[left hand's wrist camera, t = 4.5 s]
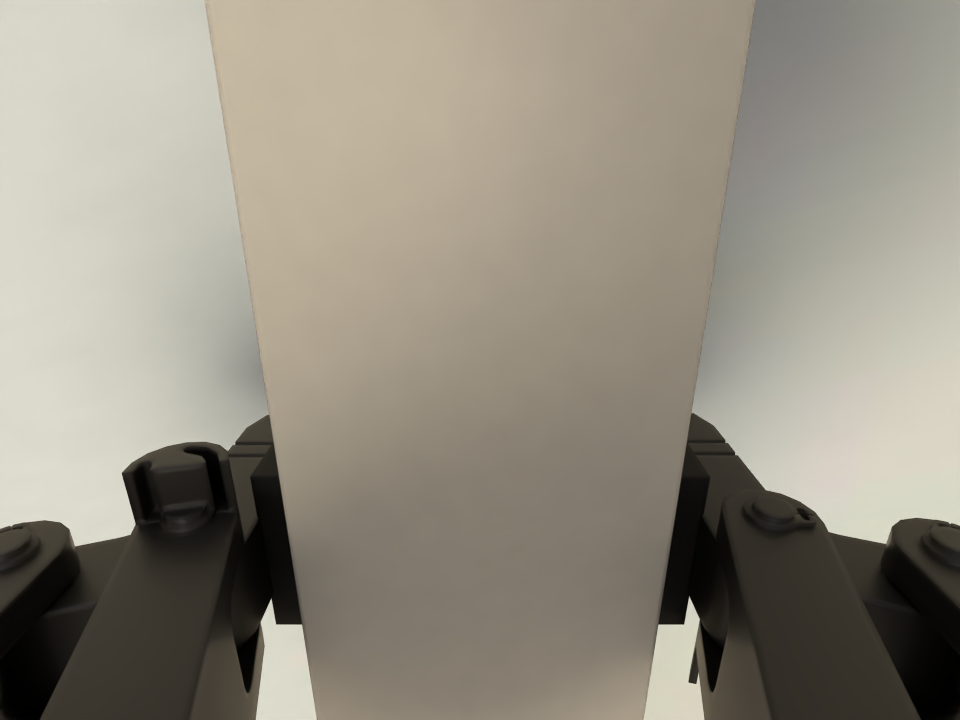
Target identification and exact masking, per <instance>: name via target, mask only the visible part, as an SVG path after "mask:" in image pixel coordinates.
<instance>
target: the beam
mask: <svg viewBox="0 0 960 720" xmlns="http://www.w3.org/2000/svg"><path fill="white" fill-rule="evenodd" d="M755 2H756V0H205V5H206V12H207V18H208V24H209V31H210V37H211V44H212V50H213V56H214V63H215V69H216V76H217V82H218V88H219V95H220V101H221V108H222V114H223V120H224V127H225V133H226V140H227V146H228V153H229V159H230V165H231V172H232V178H233V185H234V191H235V197H236V204H237V210H238V217H239V223H240V229H241V236H242V242H243V249H244V255H245V261H246V268H247V274H248V281H249V287H250V293H251V300H252V306H253V313H254V319H255V325H256V332H257V338H258V345H259V351H260V357H261V364H262V370H263V377H264V383H265V389H266V396H267V402H268V409H269V415H270V421H271V428H272V434H273V441H274V447H275V453H276V460H277V466H278V473H279V479H280V485H281V492H282V498H283V505H284V511H285V517H286V524H287V530H288V537H289V543H290V549H291V556H292V562H293V569H294V575H295V581H296V588H297V594H298V601H299V607H300V613H301V620H302V626H303V633H304V639H305V645H306V652H307V658H308V665H309V671H310V677H311V684H312V690H313V697H314V703H315V709H316V716H317V720H643V719H644V712H645V706H646V700H647V693H648V687H649V680H650V674H651V668H652V661H653V655H654V648H655V642H656V636H657V629H658V623H659V616H660V610H661V604H662V597H663V591H664V584H665V578H666V572H667V565H668V559H669V552H670V546H671V540H672V533H673V527H674V520H675V514H676V508H677V501H678V495H679V488H680V482H681V476H682V469H683V463H684V456H685V450H686V444H687V437H688V431H689V424H690V418H691V412H692V405H693V399H694V392H695V386H696V380H697V373H698V367H699V360H700V354H701V348H702V341H703V335H704V328H705V322H706V316H707V309H708V303H709V296H710V290H711V284H712V277H713V271H714V264H715V258H716V252H717V245H718V239H719V232H720V226H721V220H722V213H723V207H724V200H725V194H726V188H727V181H728V175H729V168H730V162H731V156H732V149H733V143H734V136H735V130H736V124H737V117H738V111H739V104H740V98H741V92H742V85H743V79H744V72H745V66H746V60H747V53H748V47H749V40H750V34H751V28H752V21H753V15H754V8H755Z"/></svg>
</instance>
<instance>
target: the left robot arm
mask: <svg viewBox="0 0 960 720" xmlns="http://www.w3.org/2000/svg"><path fill="white" fill-rule="evenodd" d="M122 476H123V480H124V483H125V487H126V490H127V494H128V498H129V501H130V505H131V508H132V512H133V516H134V519H135V523H136V525H135V527H134V529H133V531H132V533H131V535H129V536H125V537H121V538H116V539H111V540H106V541H101V542H96V543H91V544H86V545H81V546H76V547H75V545H74V542H73V539H72V536H71V533H70V530H69V529H68V528H67V527H66V526H64V525H63V524H62V523H60V522H53V521H45V520H44V521H35V522H27V523H20V524H15V525H13V526H11V527H10V526H8V527H5V528H2V529H0V720H256V712H257V703H258V695H259V687H260V679H261V671H262V663H263V654H264V639H263V632H262V627H261V620H262V618H263V615H264V613H265V611H266V609H267V606H268V604H269V602H270V600H271V598H272V603H273V609H274V614H275V620H276V624H302V620H301V613H300V607H299V601H298V594H297V588H296V581H295V575H294V569H293V562H292V556H291V549H290V543H289V537H288V530H287V524H286V517H285V511H284V505H283V498H282V492H281V485H280V479H279V473H278V466H277V460H276V453H275V447H274V441H273V434H272V428H271V421H270V415H267V416H265V417H264V418H262V419H260V420H259V421H257V422H255V423H254V424H252V425H251V426H249V427H247V428H246V430H245V431H244V432H243V433H242V435H241V436H240V437H239V438H238V440H237V441H236V442H235V445H233V446H232V447H231V448H230V450H229V451H227V450H225V449H224V448H223V447H221V446H220V445H217V444H212V443H208V442H187V443H182V444H177V445H172V446H167V447H164V448H161V449H159V450H156V451H153V452H150V453H148V454H146V455H144V456H143V457H141V458H139V459H137V460H136V461H134V462H132V463H131V464H130V465H129V466H128V467H127V468H126V469H125V470H124V471H123V472H122ZM689 596H690V598H691V601H692V603H693V605H694V607H695V609H696V612H697V614H698V616H699V618H700V622H699V627H698V632H697V638H696V643H695V648H694V653H693V658H692V664H691V669H690V675H689V683H694V684H696V683H697V678H698V673H699V678H700V686H701V694H702V702H703V710H704V718H705V720H960V526H959V525H956V524H952V523H951V524H949V523H948V522H944V521H940V520H931V519H922V518H912V519H905V520H900V521H899V522H898V523H896V524H895V525H894V526H892V529H891V532H890V535H889V538H888V541H887V544H882V543H877V542H872V541H867V540H862V539H857V538H852V537H847V536H842V535H838V534H834V533H830V532H828V530H827V528H826V526H825V524H824V523H823V521H822V520H821V519H820V518H819V517H818V515H817V514H816V513H815V512H814V511H813V510H811V509H810V508H808V507H807V506H805V505H804V504H802V503H801V502H799V501H797V500H795V499H792V498H790V497H788V496H785V495H783V494H780V493H775V492H771V491H766V490H765V489H764V488H763V486H762V485H761V484H760V483H759V481H758V480H757V479H756V478H755V476H754V475H753V474H752V473H751V471H750V470H749V469H748V468H747V467H746V465H745V464H744V463H743V462H742V460H741V459H740V458H739V457H738V455H735V452H734V450H733V449H732V448H731V447H730V445H729V444H728V443H725V439H724V438H723V437H722V435H721V434H720V433H719V432H718V431H717V429H716V428H715V427H714V426H713V425H712V424H710V423H708V422H707V421H705V420H703V419H702V418H700V417H698V416H697V415H695V414H694V413H691V418H690V424H689V431H688V437H687V444H686V450H685V456H684V463H683V469H682V476H681V482H680V488H679V495H678V501H677V508H676V514H675V520H674V527H673V533H672V540H671V546H670V552H669V559H668V565H667V572H666V578H665V584H664V591H663V597H662V604H661V610H660V616H659V623H658V624H684V622H685V616H686V611H687V605H688V599H689Z"/></svg>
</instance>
